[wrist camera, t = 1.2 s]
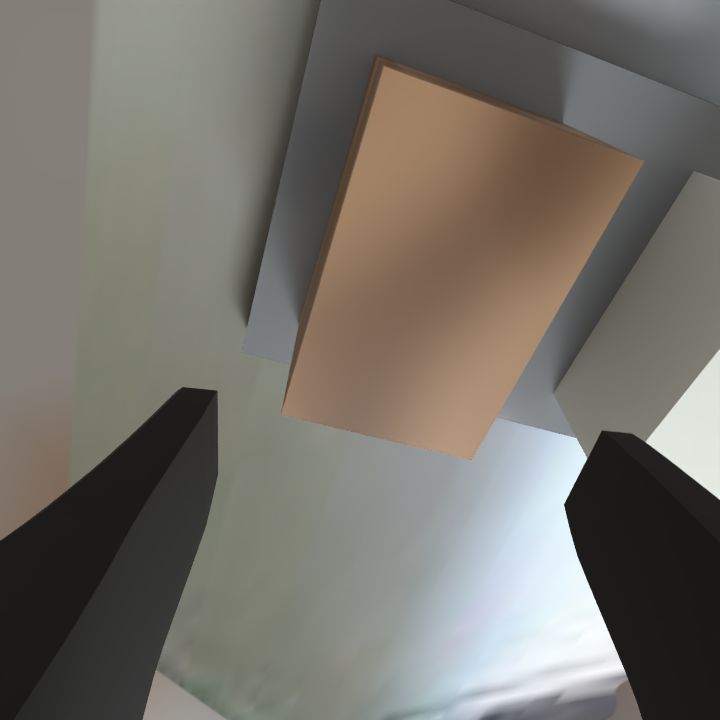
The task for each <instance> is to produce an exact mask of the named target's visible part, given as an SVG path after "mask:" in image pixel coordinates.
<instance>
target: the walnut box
mask: <svg viewBox="0 0 720 720" xmlns="http://www.w3.org/2000/svg"><path fill="white" fill-rule="evenodd" d="M643 163H644V160H642V159H640V158H637V157H635V156H633V155H631V154H629V153H627V152H624V151H622V150H620V149H618V148H616V147H614V146H611V145H609V144H607V143H605V142H603V141H601V140H598V139H596V138H594V137H592V136H590V135H588V134H585V133H583V132H581V131H579V130H577V129H575V128H573V127H570V126H568V125H566V124H564V123H561V122H559V121H556V120H553V119H551V118H548V117H545V116H542V115H540V114H537V113H534V112H531V111H529V110H526V109H523V108H520V107H518V106H515V105H512V104H509V103H507V102H504V101H501V100H499V99H496V98H493V97H490V96H488V95H485V94H482V93H479V92H477V91H474V90H471V89H468V88H466V87H463V86H460V85H457V84H455V83H452V82H449V81H447V80H444V79H441V78H438V77H436V76H433V75H430V74H427V73H425V72H422V71H419V70H416V69H414V68H411V67H408V66H405V65H403V64H400V63H397V62H395V61H392V60H389V59H386V58H384V57H381V56H378V55H375V59H374V62H373V66H372V69H371V73H370V76H369V80H368V83H367V87H366V90H365V94H364V97H363V101H362V104H361V108H360V111H359V115H358V118H357V122H356V125H355V129H354V132H353V136H352V139H351V143H350V146H349V150H348V153H347V157H346V160H345V164H344V167H343V171H342V174H341V178H340V181H339V185H338V188H337V192H336V195H335V199H334V202H333V206H332V209H331V213H330V216H329V220H328V223H327V227H326V230H325V234H324V237H323V241H322V244H321V248H320V251H319V255H318V258H317V262H316V265H315V269H314V272H313V276H312V279H311V283H310V286H309V290H308V294H307V297H306V301H305V304H304V308H303V311H302V315H301V318H300V322H299V325H298V330H297V335H296V340H295V345H294V351H293V356H292V361H291V366H290V371H289V376H288V381H287V387H286V392H285V397H284V402H283V407H282V412H281V415H284V416H288V417H292V418H296V419H301V420H305V421H309V422H313V423H318V424H322V425H326V426H330V427H334V428H339V429H343V430H347V431H351V432H356V433H360V434H364V435H368V436H372V437H377V438H381V439H385V440H389V441H393V442H398V443H402V444H406V445H410V446H415V447H419V448H423V449H427V450H431V451H436V452H440V453H444V454H448V455H453V456H457V457H461V458H465V459H469V460H472V459H473V457H474V455H475V453H476V452H477V450H478V448H479V446H480V445H481V443H482V441H483V440H484V438H485V436H486V434H487V433H488V431H489V429H490V427H491V426H492V424H493V422H494V421H495V419H496V417H497V415H498V414H499V412H500V410H501V408H502V407H503V405H504V403H505V401H506V400H507V398H508V396H509V395H510V393H511V391H512V389H513V388H514V386H515V384H516V382H517V381H518V379H519V377H520V376H521V374H522V372H523V370H524V369H525V367H526V365H527V363H528V362H529V360H530V358H531V357H532V355H533V353H534V351H535V350H536V348H537V346H538V344H539V343H540V341H541V339H542V338H543V336H544V334H545V332H546V331H547V329H548V327H549V325H550V324H551V322H552V320H553V318H554V317H555V315H556V313H557V312H558V310H559V308H560V306H561V305H562V303H563V301H564V299H565V298H566V296H567V294H568V293H569V291H570V289H571V287H572V286H573V284H574V282H575V280H576V279H577V277H578V275H579V274H580V272H581V270H582V268H583V267H584V265H585V263H586V261H587V260H588V258H589V256H590V255H591V253H592V251H593V249H594V248H595V246H596V244H597V242H598V241H599V239H600V237H601V235H602V234H603V232H604V230H605V229H606V227H607V225H608V223H609V222H610V220H611V218H612V216H613V215H614V213H615V211H616V210H617V208H618V206H619V204H620V203H621V201H622V199H623V197H624V196H625V194H626V192H627V191H628V189H629V187H630V185H631V184H632V182H633V180H634V178H635V177H636V175H637V173H638V172H639V170H640V168H641V166H642V165H643Z"/></svg>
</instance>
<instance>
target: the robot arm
mask: <svg viewBox="0 0 720 720" xmlns="http://www.w3.org/2000/svg"><path fill="white" fill-rule="evenodd" d="M217 476H218V403H217V391H215V390H205V389H196V388H186V387H182V388H181V389H179V390H178V391H177V392H176V393H175V394H174V395H172V396H171V397H170V398H169V399H168V400H167V401H166V402H165V403H164V404H163V405H162V406H161V407H160V408H159V409H158V410H157V411H156V412H155V413H154V414H153V415H152V416H151V417H150V418H149V419H148V420H147V421H146V422H145V423H144V424H143V425H142V426H140V427H139V428H138V429H137V430H136V431H135V432H134V433H133V434H132V435H131V436H130V437H129V438H128V439H127V440H125V441H124V442H123V443H122V444H121V445H120V446H119V447H118V448H116V449H115V450H114V451H113V452H112V453H111V454H110V455H109V456H107V457H106V458H105V459H104V460H103V461H102V462H101V463H100V464H98V465H97V466H96V467H95V468H94V469H93V470H91V471H90V472H89V473H88V474H87V475H85V476H84V477H83V478H82V479H80V480H79V481H78V482H77V483H75V484H74V485H73V486H72V487H71V488H69V489H68V490H67V491H66V492H64V493H63V494H62V495H61V496H59V497H58V498H57V499H56V500H54V501H53V502H52V503H51V504H50V505H48V506H47V507H46V508H44V509H43V510H42V511H40V512H39V513H38V514H36V515H35V516H34V517H32V518H31V519H30V520H28V521H27V522H26V523H24V524H23V525H22V526H20V527H19V528H18V529H16V530H15V531H13V532H12V533H11V534H9V535H8V536H6V537H5V538H3V539H2V540H1V541H0V720H142V719H143V715H144V711H145V708H146V703H147V700H148V696H149V692H150V688H151V685H152V680H153V677H154V674H155V671H156V667H157V664H158V661H159V658H160V655H161V652H162V648H163V645H164V643H165V640H166V637H167V634H168V631H169V629H170V626H171V623H172V620H173V617H174V615H175V612H176V609H177V606H178V603H179V601H180V598H181V595H182V592H183V589H184V587H185V584H186V581H187V578H188V575H189V573H190V570H191V567H192V564H193V561H194V558H195V556H196V553H197V550H198V547H199V544H200V541H201V539H202V536H203V533H204V530H205V527H206V524H207V519H208V515H209V511H210V507H211V503H212V498H213V494H214V489H215V485H216V480H217ZM564 506H565V511H566V515H567V519H568V523H569V527H570V531H571V535H572V538H573V542H574V545H575V549H576V552H577V556H578V558H579V561H580V563H581V566H582V568H583V571H584V573H585V576H586V578H587V581H588V583H589V586H590V588H591V590H592V593H593V595H594V598H595V600H596V603H597V605H598V607H599V610H600V612H601V615H602V617H603V619H604V622H605V624H606V626H607V629H608V631H609V634H610V636H611V638H612V641H613V643H614V646H615V648H616V650H617V653H618V655H619V658H620V660H621V662H622V665H623V667H624V669H625V672H626V674H627V677H628V680H629V682H630V685H631V687H632V690H633V693H634V696H635V698H636V701H637V704H638V707H639V710H640V713H641V716H642V719H643V720H720V499H718V498H717V497H716V496H715V495H713V494H712V493H711V492H709V491H708V490H707V489H706V488H704V487H703V486H702V485H701V484H699V483H698V482H697V481H695V480H694V479H693V478H692V477H690V476H689V475H688V474H687V473H685V472H684V471H683V470H682V469H680V468H679V467H678V466H676V465H675V464H674V463H673V462H671V461H670V460H669V459H667V458H666V457H665V456H663V455H662V454H661V453H659V452H658V451H657V450H655V449H654V448H653V447H651V446H650V445H649V444H647V443H646V442H644V441H643V440H641V439H640V438H638V437H637V436H635V435H634V434H632V433H623V432H613V431H604V430H602V431H601V433H600V435H599V437H598V439H597V441H596V443H595V445H594V447H593V449H592V451H591V453H590V455H589V457H588V459H587V461H586V463H585V465H584V466H583V468H582V470H581V472H580V474H579V476H578V478H577V480H576V482H575V484H574V486H573V488H572V490H571V492H570V494H569V496H568V498H567V500H566V502H565V504H564Z"/></svg>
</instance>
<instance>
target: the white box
mask: <svg viewBox="0 0 720 720" xmlns="http://www.w3.org/2000/svg"><path fill="white" fill-rule="evenodd" d="M553 395H554V397H555V398H556V400H557V402H558V404H559V406H560V408H561V410H562V412H563V413H564V415H565V417H566V419H567V421H568V423H569V425H570V426H571V428H572V430H573V432H574V434H575V436H576V438H577V439H578V441H579V443H580V445H581V447H582V449H583V451H584V452H585V454H586V456H587V458H588V457H589V455H590V453H591V451H592V449H593V447H594V445H595V443H596V441H597V439H598V437H599V435H600V433H601V431H602V430H604V431H613V432H623V433H632V434H634V435H635V436H637V437H638V438H640V439H641V440H643V441H644V442H646V443H647V444H649V445H650V446H651V447H653V448H654V449H655V450H657V451H658V452H659V453H661V454H662V455H663V456H665V457H666V458H667V459H669V460H670V461H671V462H673V463H674V464H675V465H676V466H678V467H679V468H680V469H682V470H683V471H684V472H685V473H687V474H688V475H689V476H690V477H692V478H693V479H694V480H695V481H697V482H698V483H699V484H701V485H702V486H703V487H704V488H706V489H707V490H708V491H709V492H711V493H712V494H713V495H715V496H716V497H717V498H718V499H720V180H717V179H715V178H712V177H709V176H706V175H704V174H701V173H698V172H696V171H694V172H693V173H692V175H691V176H690V178H689V179H688V181H687V183H686V184H685V186H684V187H683V189H682V190H681V192H680V194H679V195H678V197H677V198H676V200H675V202H674V203H673V205H672V206H671V208H670V209H669V211H668V213H667V214H666V216H665V217H664V219H663V221H662V222H661V224H660V225H659V227H658V228H657V230H656V232H655V233H654V235H653V236H652V238H651V239H650V241H649V243H648V244H647V246H646V247H645V249H644V251H643V252H642V254H641V255H640V257H639V258H638V260H637V262H636V263H635V265H634V266H633V268H632V270H631V271H630V273H629V274H628V276H627V277H626V279H625V281H624V282H623V284H622V285H621V287H620V288H619V290H618V292H617V293H616V295H615V296H614V298H613V300H612V301H611V303H610V304H609V306H608V307H607V309H606V311H605V312H604V314H603V315H602V317H601V319H600V320H599V322H598V323H597V325H596V326H595V328H594V330H593V331H592V333H591V334H590V336H589V337H588V339H587V341H586V342H585V344H584V345H583V347H582V349H581V350H580V352H579V353H578V355H577V356H576V358H575V360H574V361H573V363H572V364H571V366H570V368H569V369H568V371H567V372H566V374H565V375H564V377H563V379H562V380H561V382H560V383H559V385H558V386H557V388H556V390H555V391H554V393H553Z"/></svg>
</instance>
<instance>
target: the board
mask: <svg viewBox="0 0 720 720" xmlns="http://www.w3.org/2000/svg"><path fill="white" fill-rule="evenodd" d="M375 55H378V56H381V57H384V58H386V59H389V60H392V61H395V62H397V63H400V64H403V65H405V66H408V67H411V68H414V69H416V70H419V71H422V72H425V73H427V74H430V75H433V76H436V77H438V78H441V79H444V80H447V81H449V82H452V83H455V84H457V85H460V86H463V87H466V88H468V89H471V90H474V91H477V92H479V93H482V94H485V95H488V96H490V97H493V98H496V99H499V100H501V101H504V102H507V103H509V104H512V105H515V106H518V107H520V108H523V109H526V110H529V111H531V112H534V113H537V114H540V115H542V116H545V117H548V118H551V119H553V120H556V121H559V122H561V123H564V124H566V125H568V126H570V127H573V128H575V129H577V130H579V131H581V132H583V133H585V134H588V135H590V136H592V137H594V138H596V139H598V140H601V141H603V142H605V143H607V144H609V145H611V146H614V147H616V148H618V149H620V150H622V151H624V152H627V153H629V154H631V155H633V156H635V157H637V158H640V159H642V160H644V163H643V165H642V166H641V168H640V170H639V172H638V173H637V175H636V177H635V178H634V180H633V182H632V184H631V185H630V187H629V189H628V191H627V192H626V194H625V196H624V197H623V199H622V201H621V203H620V204H619V206H618V208H617V210H616V211H615V213H614V215H613V216H612V218H611V220H610V222H609V223H608V225H607V227H606V229H605V230H604V232H603V234H602V235H601V237H600V239H599V241H598V242H597V244H596V246H595V248H594V249H593V251H592V253H591V255H590V256H589V258H588V260H587V261H586V263H585V265H584V267H583V268H582V270H581V272H580V274H579V275H578V277H577V279H576V280H575V282H574V284H573V286H572V287H571V289H570V291H569V293H568V294H567V296H566V298H565V299H564V301H563V303H562V305H561V306H560V308H559V310H558V312H557V313H556V315H555V317H554V318H553V320H552V322H551V324H550V325H549V327H548V329H547V331H546V332H545V334H544V336H543V338H542V339H541V341H540V343H539V344H538V346H537V348H536V350H535V351H534V353H533V355H532V357H531V358H530V360H529V362H528V363H527V365H526V367H525V369H524V370H523V372H522V374H521V376H520V377H519V379H518V381H517V382H516V384H515V386H514V388H513V389H512V391H511V393H510V395H509V396H508V398H507V400H506V401H505V403H504V405H503V407H502V408H501V410H500V412H499V414H498V415H497V417H496V418H500V419H504V420H508V421H512V422H516V423H520V424H524V425H528V426H532V427H536V428H540V429H544V430H547V431H551V432H555V433H559V434H563V435H567V436H571V437H575V438H576V436H575V434H574V432H573V430H572V428H571V426H570V425H569V423H568V421H567V419H566V417H565V415H564V413H563V412H562V410H561V408H560V406H559V404H558V402H557V400H556V398H555V397H554V395H553V393H554V391H555V390H556V388H557V386H558V385H559V383H560V382H561V380H562V379H563V377H564V375H565V374H566V372H567V371H568V369H569V368H570V366H571V364H572V363H573V361H574V360H575V358H576V356H577V355H578V353H579V352H580V350H581V349H582V347H583V345H584V344H585V342H586V341H587V339H588V337H589V336H590V334H591V333H592V331H593V330H594V328H595V326H596V325H597V323H598V322H599V320H600V319H601V317H602V315H603V314H604V312H605V311H606V309H607V307H608V306H609V304H610V303H611V301H612V300H613V298H614V296H615V295H616V293H617V292H618V290H619V288H620V287H621V285H622V284H623V282H624V281H625V279H626V277H627V276H628V274H629V273H630V271H631V270H632V268H633V266H634V265H635V263H636V262H637V260H638V258H639V257H640V255H641V254H642V252H643V251H644V249H645V247H646V246H647V244H648V243H649V241H650V239H651V238H652V236H653V235H654V233H655V232H656V230H657V228H658V227H659V225H660V224H661V222H662V221H663V219H664V217H665V216H666V214H667V213H668V211H669V209H670V208H671V206H672V205H673V203H674V202H675V200H676V198H677V197H678V195H679V194H680V192H681V190H682V189H683V187H684V186H685V184H686V183H687V181H688V179H689V178H690V176H691V175H692V173H693V172H694V171H696V172H698V173H701V174H704V175H706V176H709V177H712V178H715V179H717V180H720V106H718V105H715V104H713V103H710V102H707V101H705V100H702V99H700V98H697V97H695V96H692V95H690V94H687V93H685V92H682V91H679V90H677V89H674V88H672V87H669V86H667V85H664V84H662V83H659V82H657V81H654V80H652V79H649V78H646V77H644V76H641V75H639V74H636V73H634V72H631V71H629V70H626V69H624V68H621V67H618V66H616V65H613V64H611V63H608V62H606V61H603V60H601V59H598V58H596V57H593V56H591V55H588V54H585V53H583V52H580V51H578V50H575V49H573V48H570V47H568V46H565V45H563V44H560V43H557V42H555V41H552V40H550V39H547V38H545V37H542V36H540V35H537V34H535V33H532V32H530V31H527V30H524V29H522V28H519V27H517V26H514V25H512V24H509V23H507V22H504V21H502V20H499V19H496V18H494V17H491V16H489V15H486V14H484V13H481V12H479V11H476V10H474V9H471V8H469V7H466V6H463V5H461V4H458V3H456V2H453V1H451V0H321V2H320V7H319V11H318V16H317V20H316V24H315V29H314V33H313V38H312V42H311V47H310V51H309V55H308V60H307V64H306V69H305V73H304V78H303V82H302V86H301V91H300V95H299V100H298V104H297V109H296V113H295V117H294V122H293V126H292V131H291V135H290V140H289V144H288V148H287V153H286V157H285V162H284V166H283V171H282V175H281V179H280V184H279V188H278V193H277V197H276V202H275V206H274V210H273V215H272V219H271V224H270V228H269V233H268V237H267V241H266V246H265V250H264V255H263V259H262V264H261V268H260V273H259V277H258V281H257V286H256V290H255V295H254V299H253V304H252V308H251V312H250V317H249V321H248V326H247V330H246V335H245V339H244V343H243V348H242V352H241V353H244V354H248V355H252V356H256V357H260V358H264V359H268V360H272V361H276V362H280V363H284V364H288V365H291V361H292V356H293V351H294V345H295V340H296V335H297V330H298V325H299V322H300V318H301V315H302V311H303V308H304V304H305V301H306V297H307V294H308V290H309V286H310V283H311V279H312V276H313V272H314V269H315V265H316V262H317V258H318V255H319V251H320V248H321V244H322V241H323V237H324V234H325V230H326V227H327V223H328V220H329V216H330V213H331V209H332V206H333V202H334V199H335V195H336V192H337V188H338V185H339V181H340V178H341V174H342V171H343V167H344V164H345V160H346V157H347V153H348V150H349V146H350V143H351V139H352V136H353V132H354V129H355V125H356V122H357V118H358V115H359V111H360V108H361V104H362V101H363V97H364V94H365V90H366V87H367V83H368V80H369V76H370V73H371V69H372V66H373V62H374V59H375Z"/></svg>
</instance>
